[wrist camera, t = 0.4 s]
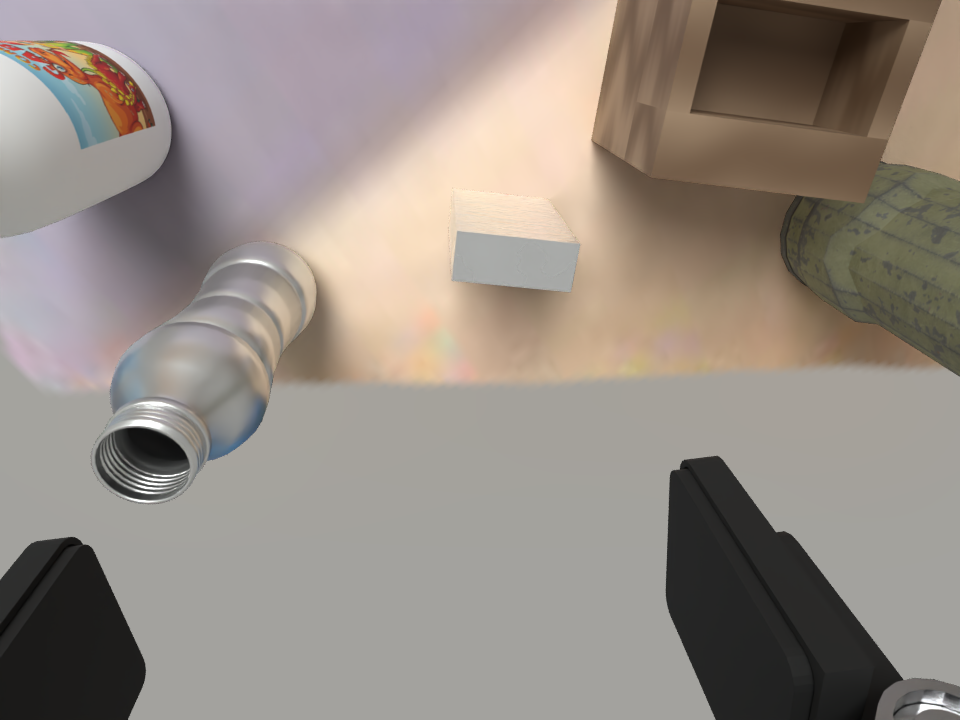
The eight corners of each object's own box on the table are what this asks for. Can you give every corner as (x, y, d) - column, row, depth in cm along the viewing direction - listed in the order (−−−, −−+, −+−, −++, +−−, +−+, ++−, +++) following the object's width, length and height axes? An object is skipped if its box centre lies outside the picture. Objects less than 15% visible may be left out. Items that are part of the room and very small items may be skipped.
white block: (452, 187, 39) (457, 230, 31) (548, 198, 40) (580, 243, 31) (448, 227, 41) (451, 280, 32) (541, 237, 41) (570, 292, 32)
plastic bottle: (342, 298, 42) (273, 487, 24) (258, 345, 43) (132, 559, 25) (283, 213, 40) (157, 354, 22) (194, 265, 41) (4, 441, 23)
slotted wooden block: (628, -55, 34) (715, -100, 24) (803, -27, 35) (963, -57, 25) (591, 140, 39) (650, 177, 28) (748, 159, 40) (864, 203, 29)
